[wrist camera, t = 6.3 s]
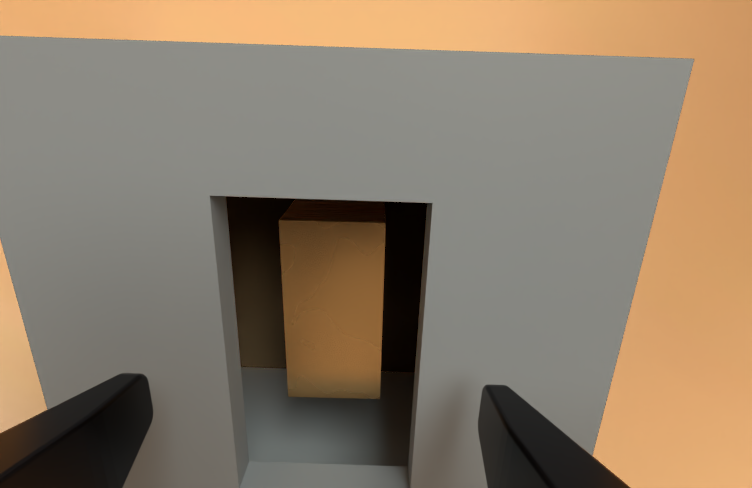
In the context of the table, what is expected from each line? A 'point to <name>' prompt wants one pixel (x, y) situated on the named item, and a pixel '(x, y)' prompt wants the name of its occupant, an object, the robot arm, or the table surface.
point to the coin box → (332, 182)
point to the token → (333, 297)
